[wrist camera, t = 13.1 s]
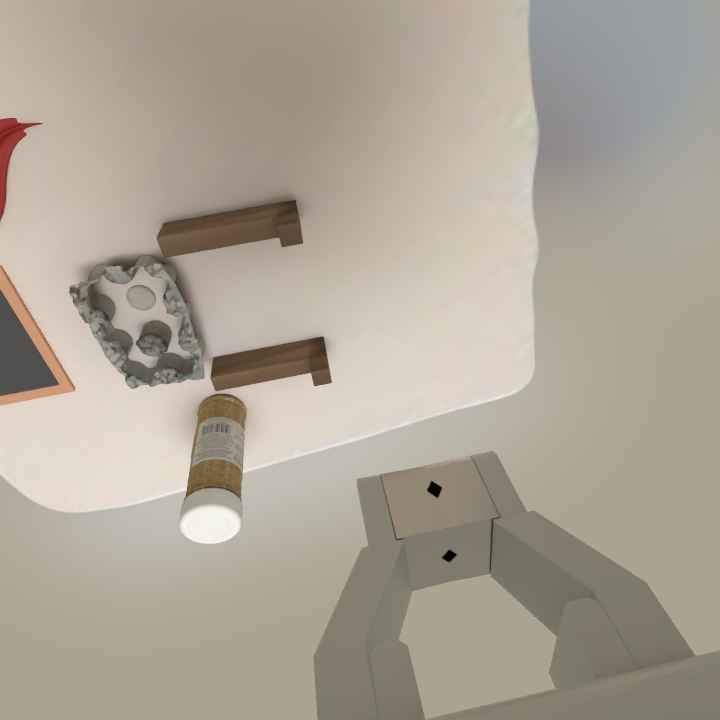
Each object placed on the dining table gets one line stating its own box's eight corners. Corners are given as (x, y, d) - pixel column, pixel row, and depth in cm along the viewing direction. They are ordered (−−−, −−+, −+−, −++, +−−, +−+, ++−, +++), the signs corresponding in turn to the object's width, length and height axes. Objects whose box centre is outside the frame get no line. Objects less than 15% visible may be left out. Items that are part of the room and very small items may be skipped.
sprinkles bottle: (195, 424, 48) (173, 544, 37) (203, 388, 46) (183, 504, 35) (242, 431, 50) (235, 548, 39) (252, 397, 47) (247, 510, 37)
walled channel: (163, 223, 37) (151, 249, 33) (295, 200, 38) (298, 222, 34) (218, 371, 45) (213, 406, 41) (326, 350, 46) (331, 382, 42)
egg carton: (79, 261, 38) (60, 284, 35) (177, 247, 39) (168, 268, 35) (128, 371, 44) (116, 400, 41) (212, 358, 45) (208, 386, 41)
